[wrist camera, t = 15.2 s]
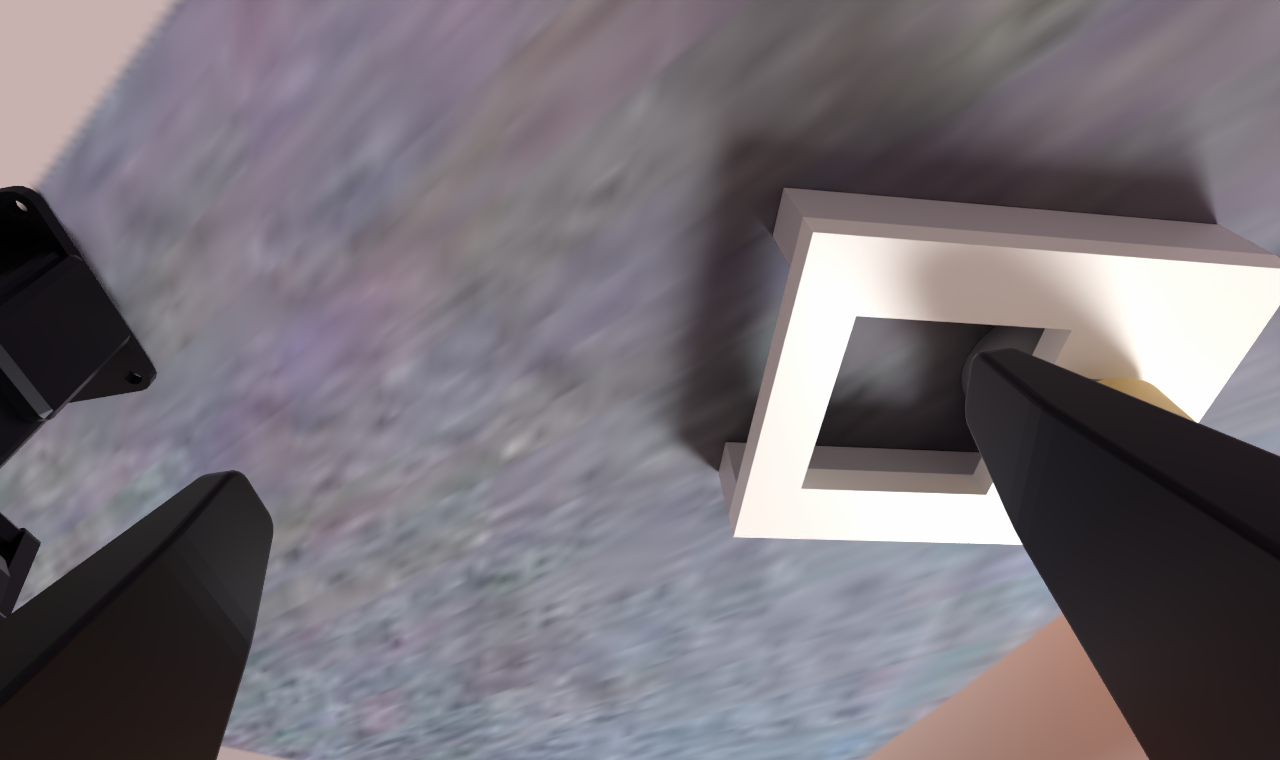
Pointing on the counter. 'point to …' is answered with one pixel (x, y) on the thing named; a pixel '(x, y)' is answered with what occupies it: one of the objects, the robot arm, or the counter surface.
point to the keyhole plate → (979, 294)
